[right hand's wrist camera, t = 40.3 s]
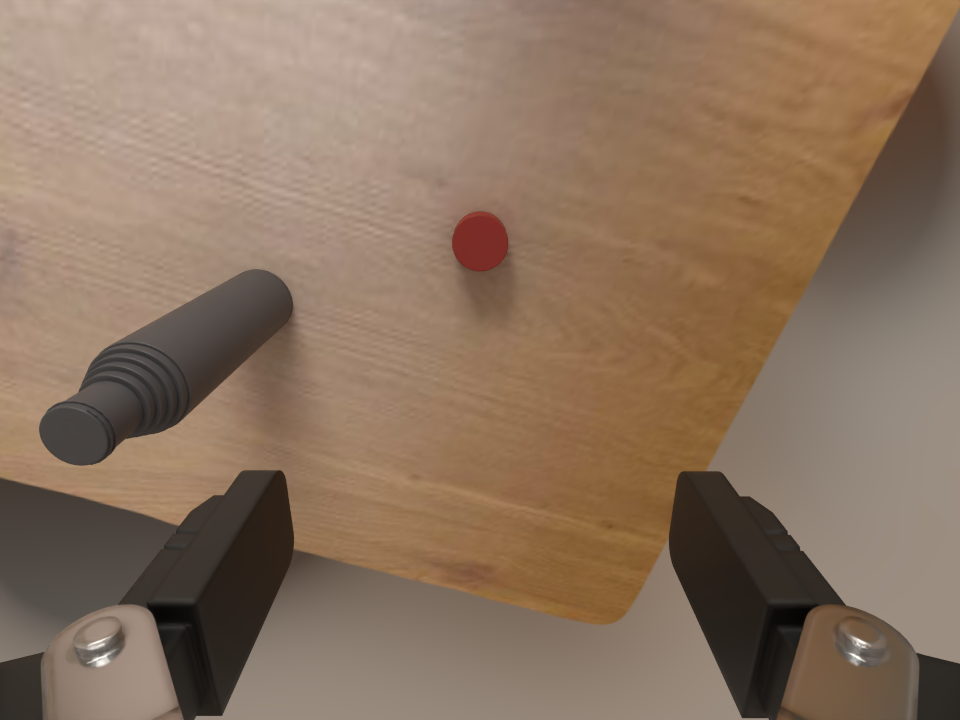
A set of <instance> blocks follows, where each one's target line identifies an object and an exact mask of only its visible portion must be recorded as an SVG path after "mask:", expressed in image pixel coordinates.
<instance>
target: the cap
mask: <svg viewBox="0 0 960 720" xmlns="http://www.w3.org/2000/svg"><path fill="white" fill-rule="evenodd" d="M452 246H453V251H454V254H455V256H456V258H457V259H458V261H459V262H460V263H461V264H462V265H463V266H465V267H466V268H468V269H471V270H474V271H487V270H490V269H492V268H494V267H496V266H497V265H498V264H499V263H500V262H501V261H502V260H503V259H504V257H505V255H506V252H507V249H508V238H507V234H506V231H505V228H504V226H503V224H502V223H501V221H500V220H499V219H498V218H497V217H495V216H494V215H492V214H490V213H487V212H474V213H470V214H468V215H467V216H465V217H464V218H463V219H461V221H460V222H459V223H458V225H457V226H456V229H455V232H454V235H453V240H452Z"/></svg>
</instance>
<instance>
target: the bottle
mask: <svg viewBox="0 0 960 720" xmlns="http://www.w3.org/2000/svg"><path fill="white" fill-rule="evenodd" d="M292 305H293V303H292V297H291V294H290V291H289V290H288V288H287V286H286V285H285V284H284V282H283V281H282V280H281V279H279V278H278V277H277V276H275V275H274V274H272V273H270V272H267V271H264V270H248V271H245V272H243V273H241V274H239V275H237V276H235V277H233V278H232V279H230V280H228V281H226V282H224V283H223V284H221V285H219V286H217V287H215V288H214V289H212V290H210V291H208V292H206V293H204V294H203V295H201V296H199V297H197V298H195V299H194V300H192V301H190V302H188V303H186V304H184V305H183V306H181V307H179V308H177V309H175V310H174V311H172V312H170V313H168V314H166V315H165V316H163V317H161V318H159V319H157V320H155V321H154V322H152V323H150V324H148V325H146V326H145V327H143V328H141V329H139V330H137V331H135V332H134V333H132V334H130V335H128V336H126V337H125V338H123V339H121V340H119V341H117V342H116V343H114V344H112V345H110V346H108V347H107V348H105V349H104V350H103V351H102V352H100V354H99V355H98V356H97V357H96V358H95V359H94V360H93V361H92V363H91V364H90V366H89V368H88V371H87V373H86V375H85V378H84V380H83V382H82V385H81V387H80V389H79V392H78V393H77V394H75V395H74V396H72V397H70V398H69V399H67V400H66V401H63V402H60V403H57V404H55V405H54V406H52V407H51V408H49V409H48V410H47V412H46V414H45V415H44V416H43V418H42V419H41V422H40V426H39V432H40V437H41V440H42V442H43V444H44V445H45V447H46V448H47V449H48V450H49V451H50V452H51V453H52V454H53V455H54V456H55V457H57V458H58V459H60V460H62V461H64V462H66V463H69V464H73V465H93V464H96V463H99V462H101V461H102V460H104V459H105V458H107V456H109V455H110V454H111V453H112V452H113V451H114V449H115V448H116V446H117V445H119V444H120V443H121V442H122V441H123V440H125V439H128V438H133V437H139V436H144V435H149V434H155V433H159V432H162V431H164V430H166V429H168V428H170V427H173V426H174V425H176V424H178V423H179V422H180V421H181V420H182V419H183V418H184V417H186V416H187V415H188V414H189V413H190V412H191V411H192V410H193V409H194V408H195V407H196V406H197V405H198V404H199V403H201V402H202V401H203V400H204V399H205V398H206V397H207V396H208V395H209V394H210V393H211V392H212V391H213V390H214V389H216V388H217V387H218V386H219V385H220V384H221V383H222V382H223V381H224V380H225V379H226V378H227V377H228V376H229V375H231V374H232V373H233V372H234V371H235V370H236V369H237V368H238V367H239V366H240V365H241V364H242V363H243V362H244V361H246V360H247V359H248V358H249V357H250V356H251V355H252V354H253V353H254V352H255V351H256V350H257V349H258V348H259V347H261V346H262V345H263V344H264V343H265V342H266V341H267V340H268V339H269V338H270V337H271V336H272V335H273V334H274V333H276V332H277V331H278V330H279V329H280V328H281V327H282V326H283V325H284V324H285V323H286V322H287V321H288V319H289V317H290V315H291V312H292Z"/></svg>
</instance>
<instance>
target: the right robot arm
mask: <svg viewBox="0 0 960 720" xmlns="http://www.w3.org/2000/svg"><path fill="white" fill-rule="evenodd" d="M293 547H294V533H293V525H292V518H291V511H290V505H289V498H288V491H287V484H286V478H285V475H284V473H283V472H282V471H280V470H244V471H242V472H241V473H240V474H239V475H238V476H237V478H236V479H235V481H234V482H233V483H232V485H231V486H230V487H229V489H228V490H227V492H226V493H225V494H224V495H214V496H212V497H211V498H209V499H208V500H207V501H205V502H204V503H202V504H201V505H199V506H198V507H196V508H195V509H194V510H192V511H191V512H190V513H189V514H188V516H187V517H186V518H185V520H184V521H183V522H182V523H181V525H180V526H179V527H178V528H177V530H176V534H173V535H172V536H171V537H170V539H169V540H168V541H167V543H166V544H165V545H164V549H163V550H160V552H159V553H158V554H157V555H156V557H155V558H154V559H153V560H152V562H151V563H150V564H149V566H148V567H147V568H146V569H145V571H144V572H143V573H142V575H141V576H140V577H139V578H138V580H137V581H136V582H135V583H134V585H133V586H132V587H131V589H130V590H129V591H128V592H127V594H126V595H125V596H124V598H123V599H122V600H121V601H120V603H119V604H118V605H116V606H111V607H107V608H103V609H101V610H98V611H95V612H93V613H90V614H88V615H86V616H84V617H82V618H80V619H79V620H77V621H75V622H74V623H72V624H71V625H69V626H68V627H67V628H65V629H64V630H63V631H62V632H60V633H59V634H58V635H57V636H56V637H55V638H54V639H53V641H52V642H51V643H50V644H49V645H48V647H47V649H46V650H45V652H42V653H39V654H35V655H30V656H26V657H22V658H18V659H14V660H10V661H6V662H1V663H0V720H194V719H195V717H196V716H222V715H223V713H224V710H225V708H226V706H227V704H228V701H229V699H230V697H231V695H232V693H233V690H234V688H235V686H236V683H237V681H238V679H239V677H240V675H241V672H242V670H243V668H244V666H245V664H246V661H247V659H248V657H249V655H250V652H251V650H252V648H253V646H254V644H255V641H256V639H257V637H258V635H259V632H260V630H261V628H262V626H263V623H264V621H265V619H266V617H267V615H268V612H269V610H270V608H271V606H272V603H273V601H274V599H275V597H276V595H277V592H278V590H279V588H280V586H281V583H282V581H283V579H284V577H285V575H286V572H287V570H288V568H289V565H290V563H291V559H292V554H293ZM669 550H670V556H671V561H672V564H673V567H674V569H675V572H676V574H677V576H678V578H679V580H680V582H681V585H682V587H683V589H684V591H685V593H686V596H687V598H688V600H689V602H690V604H691V607H692V609H693V611H694V613H695V615H696V618H697V620H698V622H699V624H700V626H701V629H702V631H703V633H704V635H705V637H706V640H707V642H708V644H709V646H710V648H711V651H712V653H713V655H714V657H715V659H716V662H717V664H718V666H719V668H720V670H721V673H722V675H723V677H724V679H725V681H726V684H727V686H728V688H729V690H730V692H731V695H732V697H733V699H734V701H735V703H736V705H737V708H738V710H739V712H740V714H741V717H742V718H769V720H960V664H959V663H955V662H950V661H946V660H942V659H938V658H934V657H930V656H926V655H922V654H919V653H916V652H915V650H914V649H913V647H912V645H911V644H910V643H909V642H908V641H907V639H906V638H905V637H904V636H903V635H902V634H901V633H900V632H898V631H897V630H896V629H895V628H893V627H892V626H891V625H889V624H888V623H886V622H885V621H883V620H881V619H879V618H878V617H876V616H874V615H872V614H870V613H867V612H865V611H862V610H859V609H857V608H853V607H849V606H846V605H845V604H844V602H843V601H842V600H841V598H840V597H839V596H838V595H837V593H836V592H835V591H834V590H833V588H832V587H831V586H830V585H829V583H828V582H827V581H826V580H825V578H824V577H823V576H822V574H821V573H820V572H819V571H818V569H817V568H816V567H815V566H814V564H813V563H812V562H811V560H810V559H809V558H808V557H807V555H806V554H805V553H804V552H803V551H800V547H799V545H798V544H797V543H796V542H795V540H794V539H793V538H792V536H791V535H788V533H787V530H786V529H785V528H784V526H783V525H782V524H781V522H780V521H779V520H778V519H777V517H776V516H775V515H774V514H773V512H771V511H770V510H768V509H767V508H765V507H764V506H762V505H761V504H760V503H758V502H757V501H755V500H754V499H752V498H751V497H740V496H739V495H738V493H737V492H736V491H735V489H734V488H733V487H732V485H731V484H730V483H729V481H728V480H727V478H726V477H725V476H724V475H723V474H722V473H721V472H719V471H683V472H681V473H680V474H679V476H678V479H677V484H676V491H675V498H674V505H673V512H672V519H671V525H670V532H669Z"/></svg>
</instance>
